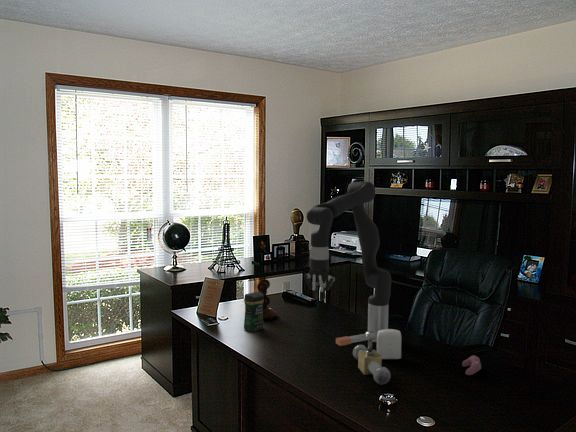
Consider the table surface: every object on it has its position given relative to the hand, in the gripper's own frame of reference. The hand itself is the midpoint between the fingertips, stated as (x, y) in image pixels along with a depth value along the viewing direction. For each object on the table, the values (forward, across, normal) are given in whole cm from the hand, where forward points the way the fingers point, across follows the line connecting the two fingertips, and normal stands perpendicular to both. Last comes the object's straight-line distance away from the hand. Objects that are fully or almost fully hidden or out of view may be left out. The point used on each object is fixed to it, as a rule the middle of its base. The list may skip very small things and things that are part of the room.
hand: (318, 299), depth 193 cm
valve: (+27, -20, -5) cm, 34 cm away
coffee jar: (+27, +46, -24) cm, 59 cm away
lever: (+14, -16, 0) cm, 21 cm away
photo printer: (+27, -23, -21) cm, 41 cm away
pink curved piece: (+27, -56, -24) cm, 66 cm away
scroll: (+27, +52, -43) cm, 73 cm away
